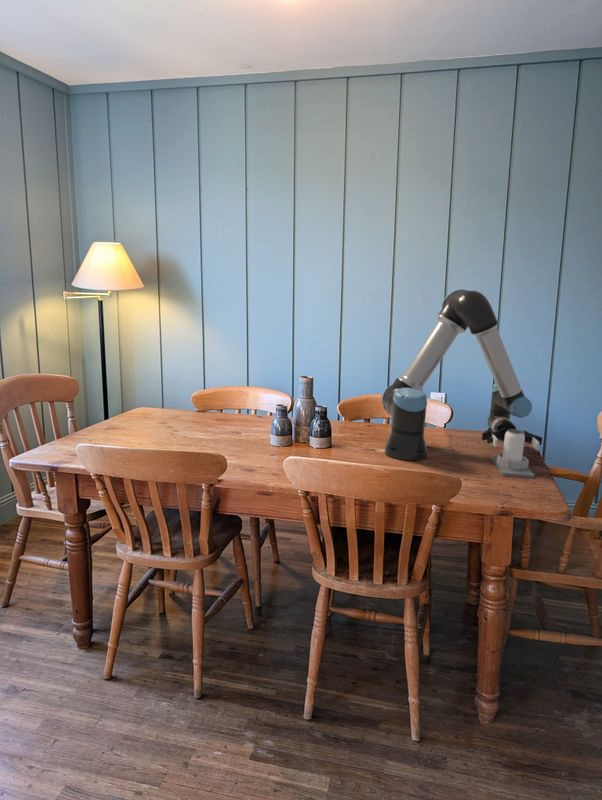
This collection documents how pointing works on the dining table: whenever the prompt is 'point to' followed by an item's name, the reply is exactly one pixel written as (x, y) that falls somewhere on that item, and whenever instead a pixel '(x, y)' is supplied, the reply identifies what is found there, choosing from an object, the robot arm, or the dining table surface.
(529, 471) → the socket plate
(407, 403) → the robot arm
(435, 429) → the dining table surface
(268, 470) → the dining table surface
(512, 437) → the can
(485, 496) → the dining table surface
